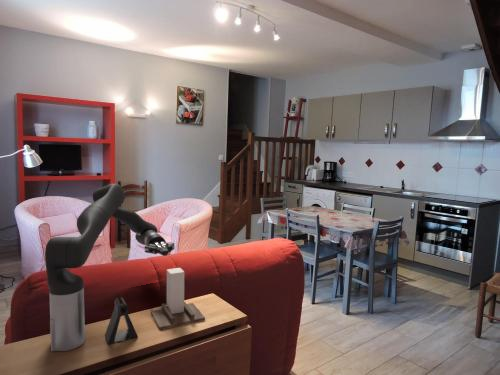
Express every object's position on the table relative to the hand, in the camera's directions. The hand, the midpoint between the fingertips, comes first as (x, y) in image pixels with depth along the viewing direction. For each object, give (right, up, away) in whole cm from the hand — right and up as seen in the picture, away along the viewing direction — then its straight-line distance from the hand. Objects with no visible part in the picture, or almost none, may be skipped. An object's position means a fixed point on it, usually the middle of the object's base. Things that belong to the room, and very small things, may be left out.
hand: (165, 253), depth 139 cm
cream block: (+6, -19, -10) cm, 22 cm away
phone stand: (-8, -22, -26) cm, 35 cm away
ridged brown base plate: (+7, -21, -12) cm, 25 cm away
